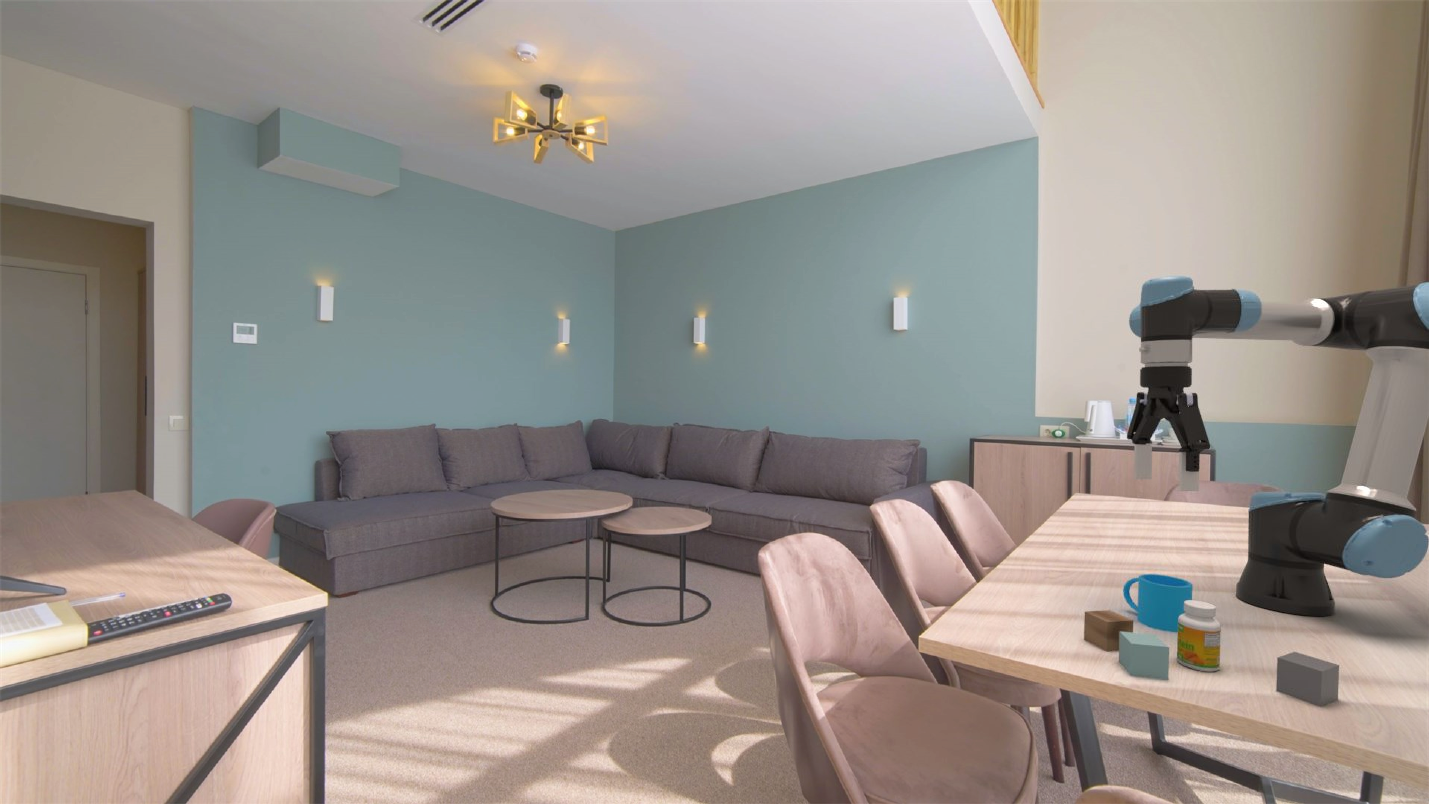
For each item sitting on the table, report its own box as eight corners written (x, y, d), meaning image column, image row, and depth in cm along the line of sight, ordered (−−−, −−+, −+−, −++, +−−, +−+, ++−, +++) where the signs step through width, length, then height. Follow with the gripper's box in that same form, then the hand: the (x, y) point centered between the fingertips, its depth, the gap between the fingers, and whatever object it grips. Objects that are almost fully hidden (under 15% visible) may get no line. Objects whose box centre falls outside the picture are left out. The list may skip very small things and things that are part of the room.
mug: (1201, 629, 116) (1203, 584, 116) (1171, 634, 113) (1172, 589, 113) (1137, 607, 128) (1139, 567, 127) (1108, 612, 125) (1109, 570, 124)
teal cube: (1154, 666, 100) (1155, 634, 100) (1168, 680, 96) (1169, 647, 96) (1118, 662, 102) (1119, 631, 102) (1130, 676, 97) (1131, 643, 97)
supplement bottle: (1168, 658, 103) (1170, 598, 103) (1199, 657, 104) (1201, 598, 104) (1196, 673, 98) (1198, 610, 98) (1228, 672, 98) (1230, 609, 98)
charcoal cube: (1293, 685, 95) (1294, 651, 94) (1337, 700, 90) (1339, 665, 90) (1276, 691, 92) (1277, 657, 92) (1320, 707, 88) (1321, 671, 88)
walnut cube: (1108, 638, 112) (1109, 610, 111) (1132, 649, 107) (1133, 620, 107) (1083, 640, 111) (1084, 611, 111) (1106, 651, 106) (1107, 621, 106)
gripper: (1107, 367, 126) (1106, 474, 127) (1187, 363, 101) (1186, 496, 102) (1147, 367, 125) (1146, 474, 126) (1238, 362, 101) (1236, 496, 101)
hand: (1164, 484), depth 114 cm, fingers open, 13 cm apart
